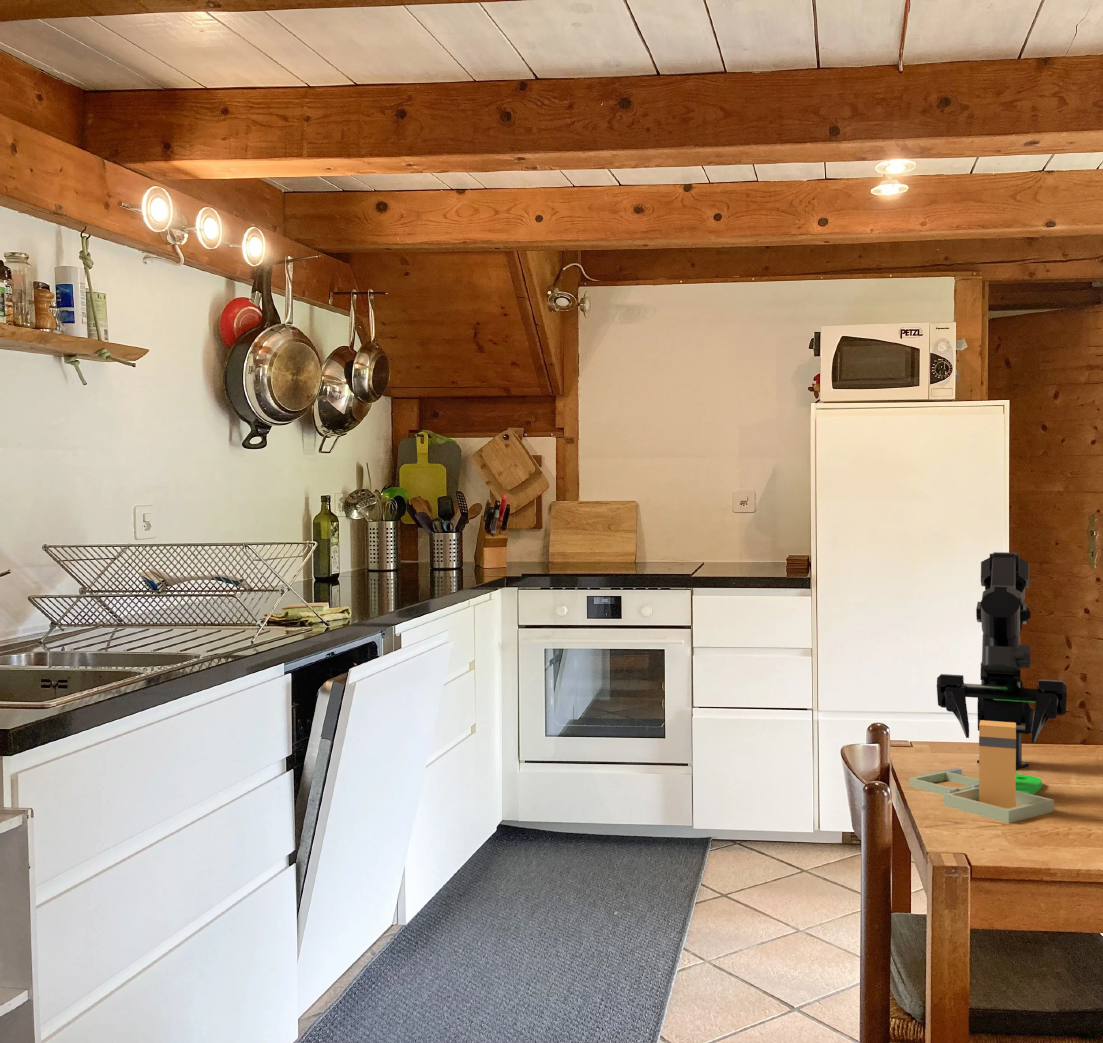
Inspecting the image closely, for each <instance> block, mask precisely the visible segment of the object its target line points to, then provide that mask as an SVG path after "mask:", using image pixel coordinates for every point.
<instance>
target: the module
mask: <svg viewBox="0 0 1103 1043" xmlns="http://www.w3.org/2000/svg"><path fill="white" fill-rule="evenodd" d="M978 733H979V734H978V750H979V751H978V754H979V755H978V756H979V757H978V760H979V763H978V764H979V765H978V766H979V768H978V769H979V770H978V777H979V778H978V779H979V800H978V801H979V802H983V803H987V804H990V805H994V806H998V807H1002V808H1006V809H1008V808H1013V807H1017V805H1016V774H1017V772H1016V771H1017V768H1016V723H1013V722H999V721H985V720H980V724H979V732H978Z"/></svg>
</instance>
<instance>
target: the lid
mask: <svg viewBox="0 0 1103 1043" xmlns="http://www.w3.org/2000/svg"><path fill="white" fill-rule="evenodd" d="M932 773H933V772H932ZM927 774H928V773H927ZM922 775H923V774H922ZM942 781H946V782H947V781H948V782H952V783H956V784H960V785H965V786H962V787H958V788H957V787H956V789H960V790H964V789H969V788H971V786H972V785H977V784H979V778H975V777H970V776H967V775H963V774H962V775H959V774H955V773H950V772H946V771H943V772H938V773H933V774H928V775H923V776H918V775H917V776H913V777H909V778H908V786H909V787H911V788H915V789H918V790H922V791H927V792H930V793H933V794H938V795H942V796H944V794H946V791H949V790H954V789H955V788H953V787H950V786H945V785H941V784H938V782H942Z"/></svg>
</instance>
